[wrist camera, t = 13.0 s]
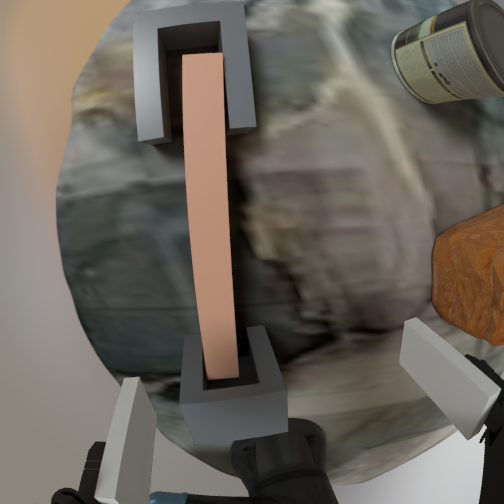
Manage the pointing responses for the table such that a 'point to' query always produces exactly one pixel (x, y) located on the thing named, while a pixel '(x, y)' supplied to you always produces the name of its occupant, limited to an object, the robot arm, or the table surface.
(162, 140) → the near end cap
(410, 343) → the robot arm
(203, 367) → the cap
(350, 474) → the table surface
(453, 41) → the coffee can
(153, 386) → the table surface
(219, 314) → the slat
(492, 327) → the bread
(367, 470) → the table surface
